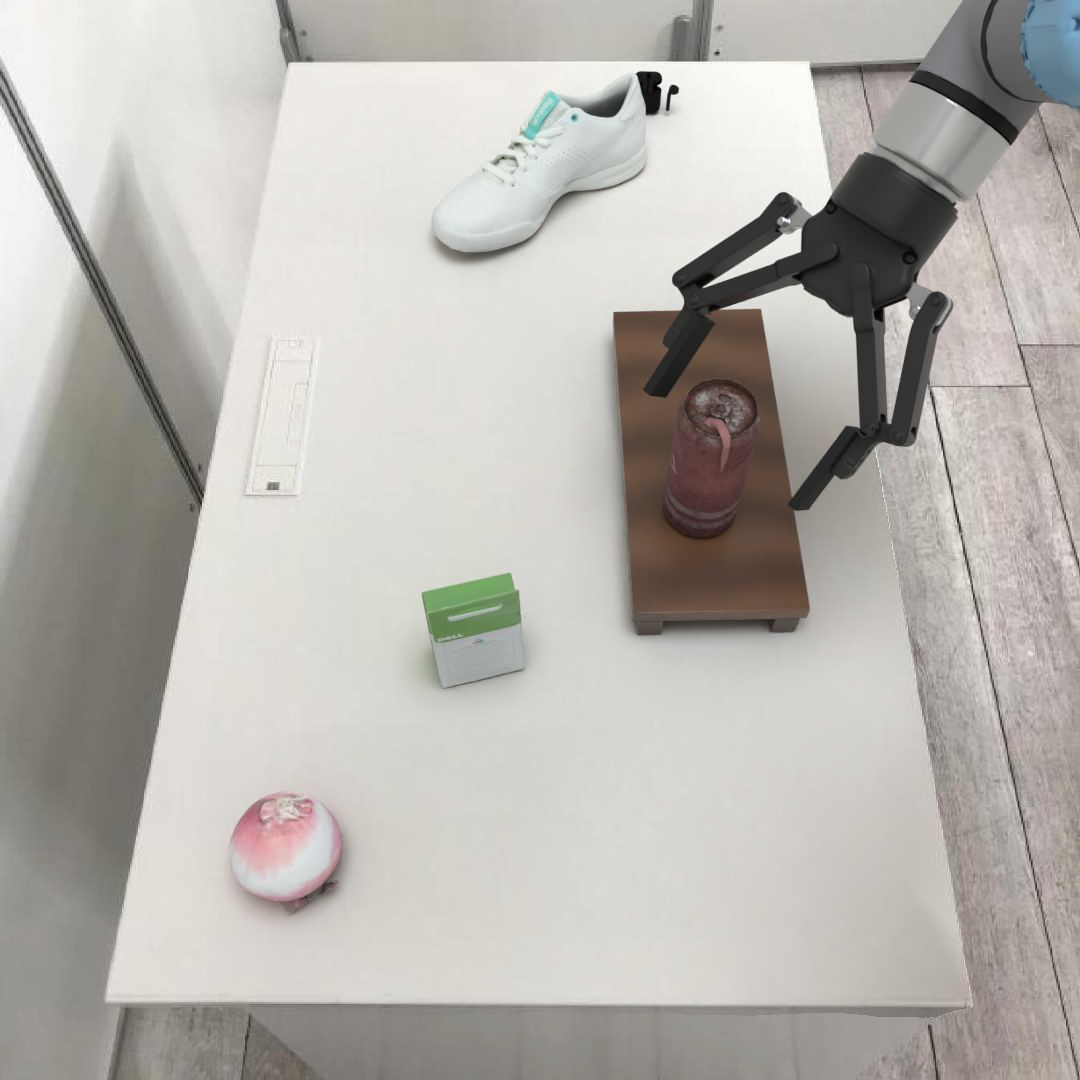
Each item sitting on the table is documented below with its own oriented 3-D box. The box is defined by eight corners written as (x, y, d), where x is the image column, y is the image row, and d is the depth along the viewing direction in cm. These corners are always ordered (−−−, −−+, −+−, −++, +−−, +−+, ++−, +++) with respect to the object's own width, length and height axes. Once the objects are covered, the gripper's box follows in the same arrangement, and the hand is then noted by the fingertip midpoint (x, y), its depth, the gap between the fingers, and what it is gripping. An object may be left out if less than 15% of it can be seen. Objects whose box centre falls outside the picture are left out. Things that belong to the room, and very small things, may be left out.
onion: (361, 818, 80) (344, 788, 74) (334, 923, 76) (314, 901, 70) (259, 801, 81) (234, 770, 75) (227, 905, 77) (198, 881, 71)
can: (675, 550, 87) (694, 450, 75) (654, 487, 90) (668, 382, 78) (746, 535, 88) (776, 434, 76) (722, 473, 91) (747, 366, 79)
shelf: (800, 632, 88) (810, 610, 84) (630, 635, 88) (633, 613, 84) (754, 336, 104) (761, 308, 101) (611, 339, 104) (613, 311, 101)
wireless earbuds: (614, 115, 121) (616, 76, 117) (615, 101, 123) (617, 61, 118) (676, 117, 121) (680, 77, 117) (676, 102, 122) (680, 63, 118)
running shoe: (410, 227, 113) (396, 134, 102) (602, 122, 121) (606, 26, 111) (466, 281, 108) (457, 189, 98) (661, 168, 117) (671, 73, 107)
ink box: (514, 627, 88) (508, 545, 77) (526, 670, 86) (521, 592, 75) (432, 646, 88) (413, 566, 76) (441, 690, 86) (423, 614, 74)
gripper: (1091, 290, 66) (878, 555, 74) (782, 103, 76) (622, 355, 84) (1079, 271, 60) (848, 563, 68) (744, 70, 69) (575, 346, 77)
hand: (723, 449), depth 76 cm, fingers open, 13 cm apart
